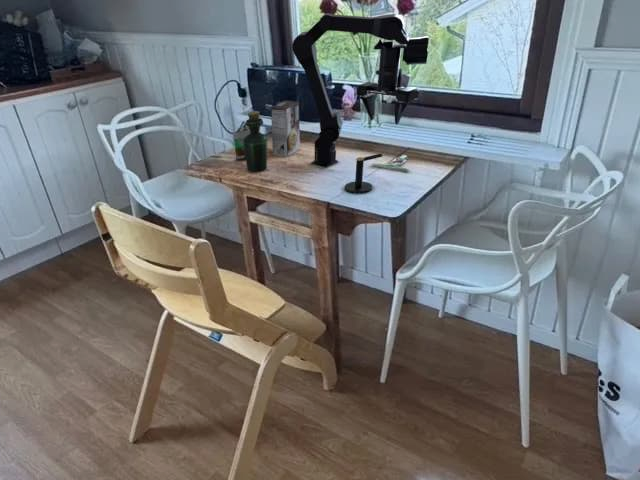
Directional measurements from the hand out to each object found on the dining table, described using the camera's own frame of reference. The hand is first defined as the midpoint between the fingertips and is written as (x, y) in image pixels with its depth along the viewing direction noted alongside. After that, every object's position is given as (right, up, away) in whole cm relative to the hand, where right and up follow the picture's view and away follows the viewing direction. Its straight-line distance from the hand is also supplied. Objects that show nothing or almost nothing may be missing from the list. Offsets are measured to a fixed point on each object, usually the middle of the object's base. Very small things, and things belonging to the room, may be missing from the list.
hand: (384, 121), depth 160 cm
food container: (-41, -2, +26) cm, 48 cm away
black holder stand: (-8, -22, -6) cm, 24 cm away
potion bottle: (-39, -10, +15) cm, 42 cm away
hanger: (+3, -13, +3) cm, 14 cm away
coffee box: (-27, 0, +26) cm, 38 cm away
